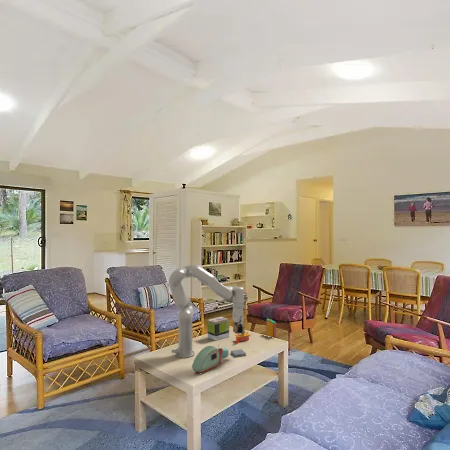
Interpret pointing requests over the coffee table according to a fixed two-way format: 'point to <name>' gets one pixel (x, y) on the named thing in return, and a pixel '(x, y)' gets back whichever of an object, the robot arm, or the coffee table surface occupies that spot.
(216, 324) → the tea box
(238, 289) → the robot arm
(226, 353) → the teal block
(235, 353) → the base plate
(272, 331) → the toy building block set
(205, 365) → the toy snail
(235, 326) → the walnut block
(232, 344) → the coffee table surface
